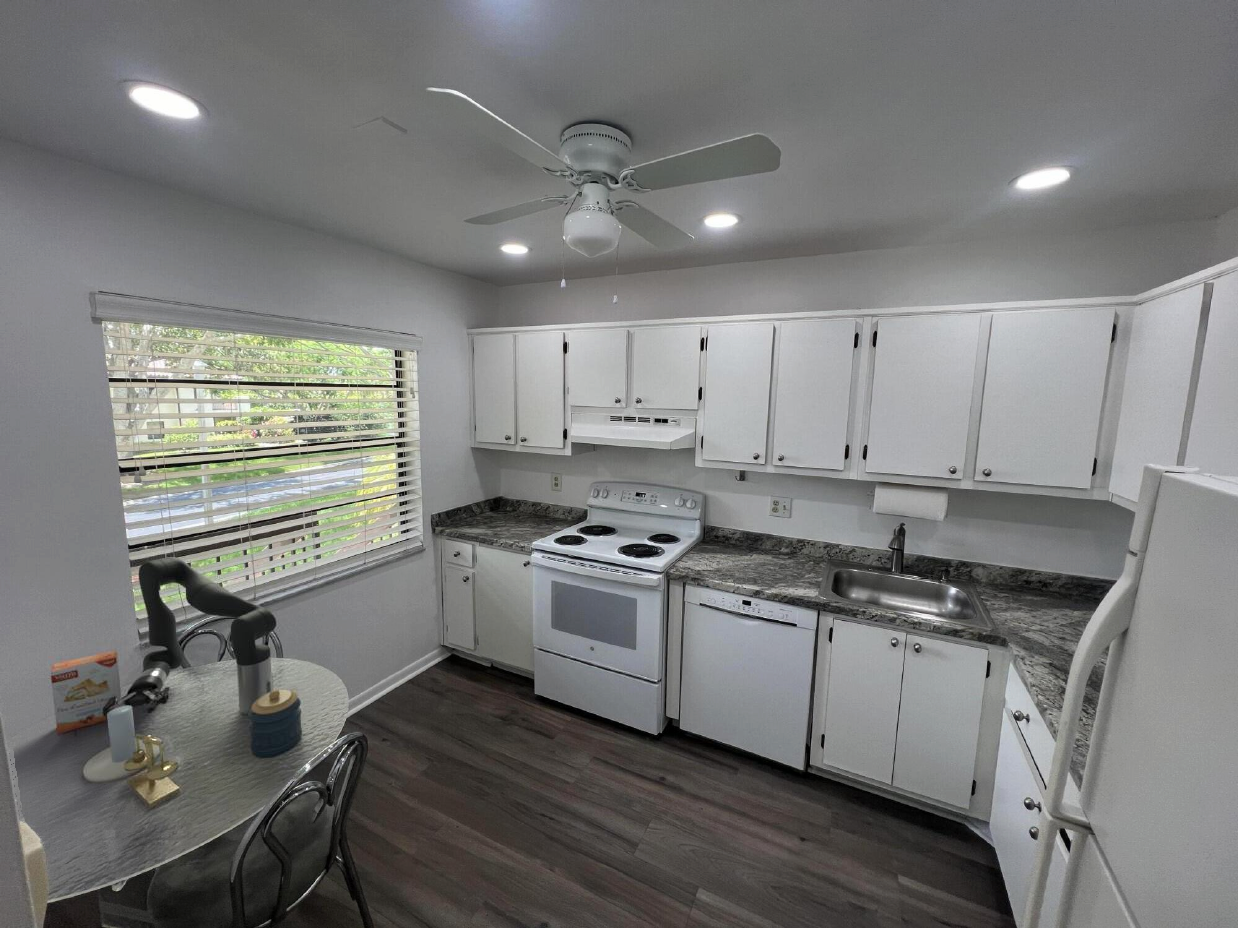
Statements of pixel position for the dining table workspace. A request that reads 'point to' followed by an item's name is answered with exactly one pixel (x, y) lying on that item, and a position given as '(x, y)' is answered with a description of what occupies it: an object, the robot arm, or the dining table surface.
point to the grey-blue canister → (121, 733)
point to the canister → (275, 723)
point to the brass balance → (151, 773)
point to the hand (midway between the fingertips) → (129, 714)
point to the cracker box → (84, 689)
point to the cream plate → (111, 765)
